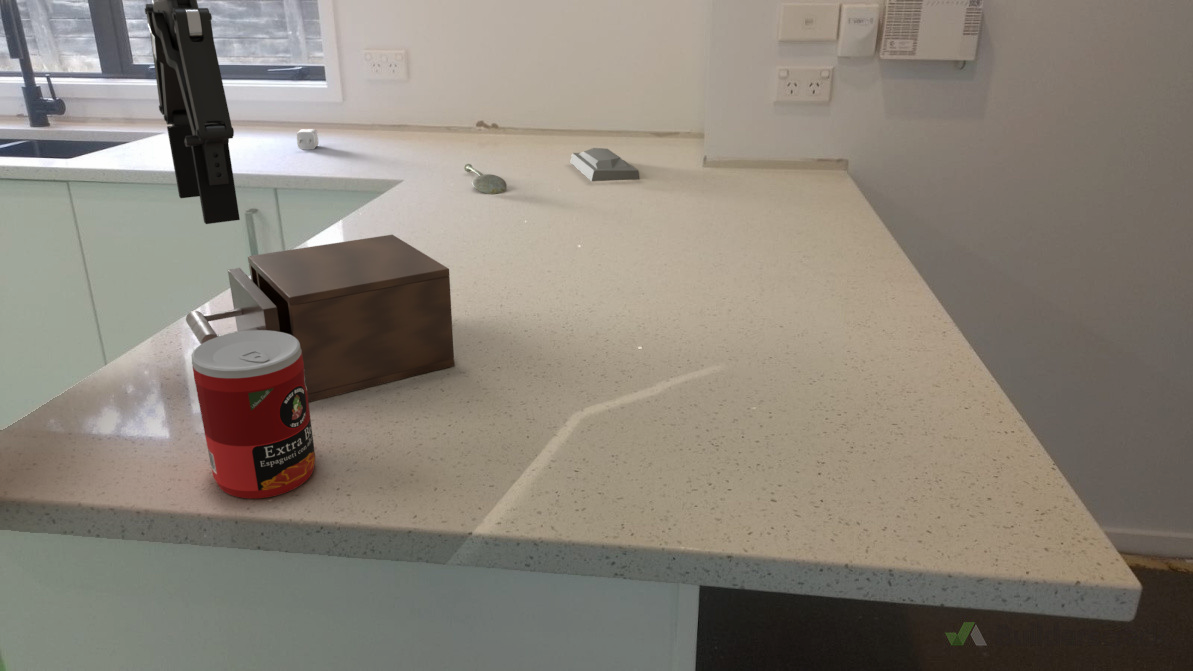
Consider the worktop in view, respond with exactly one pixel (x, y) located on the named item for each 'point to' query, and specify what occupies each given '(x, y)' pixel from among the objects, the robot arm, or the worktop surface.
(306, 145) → the usb wall charger
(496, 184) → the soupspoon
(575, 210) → the worktop surface
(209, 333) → the drawer
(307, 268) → the cabinet
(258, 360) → the canned food
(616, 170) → the grey flat stepped block
